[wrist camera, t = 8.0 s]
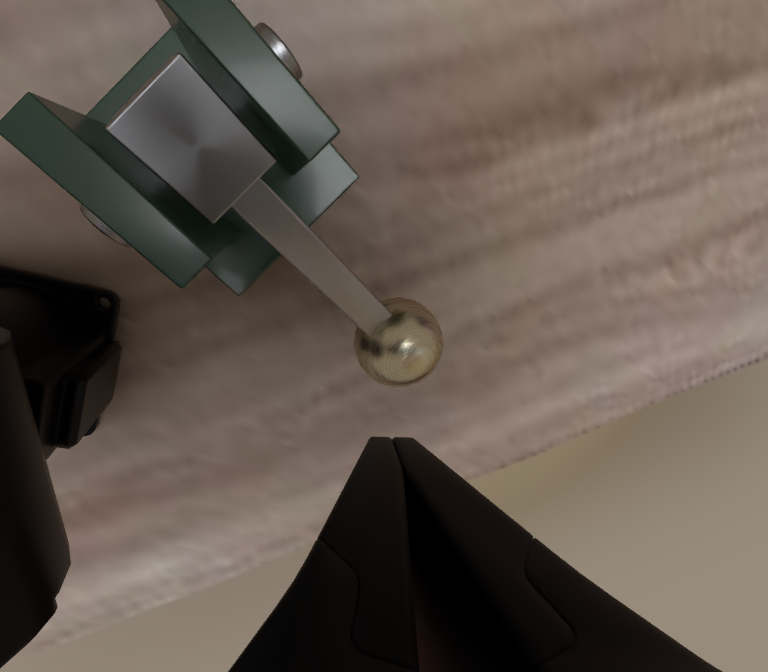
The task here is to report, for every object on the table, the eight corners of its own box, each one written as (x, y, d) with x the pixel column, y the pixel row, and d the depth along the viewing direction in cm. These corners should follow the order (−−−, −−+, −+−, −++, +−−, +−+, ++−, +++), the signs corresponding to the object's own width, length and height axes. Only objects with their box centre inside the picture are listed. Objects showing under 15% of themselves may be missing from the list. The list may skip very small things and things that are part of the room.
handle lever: (431, 317, 19) (474, 356, 16) (374, 372, 19) (409, 419, 16) (187, 39, 11) (198, 31, 9) (97, 131, 12) (83, 149, 9)
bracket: (355, 177, 20) (426, 163, 11) (240, 291, 20) (213, 372, 11) (207, 6, 17) (131, -213, 8) (75, 142, 17) (-148, 83, 8)
